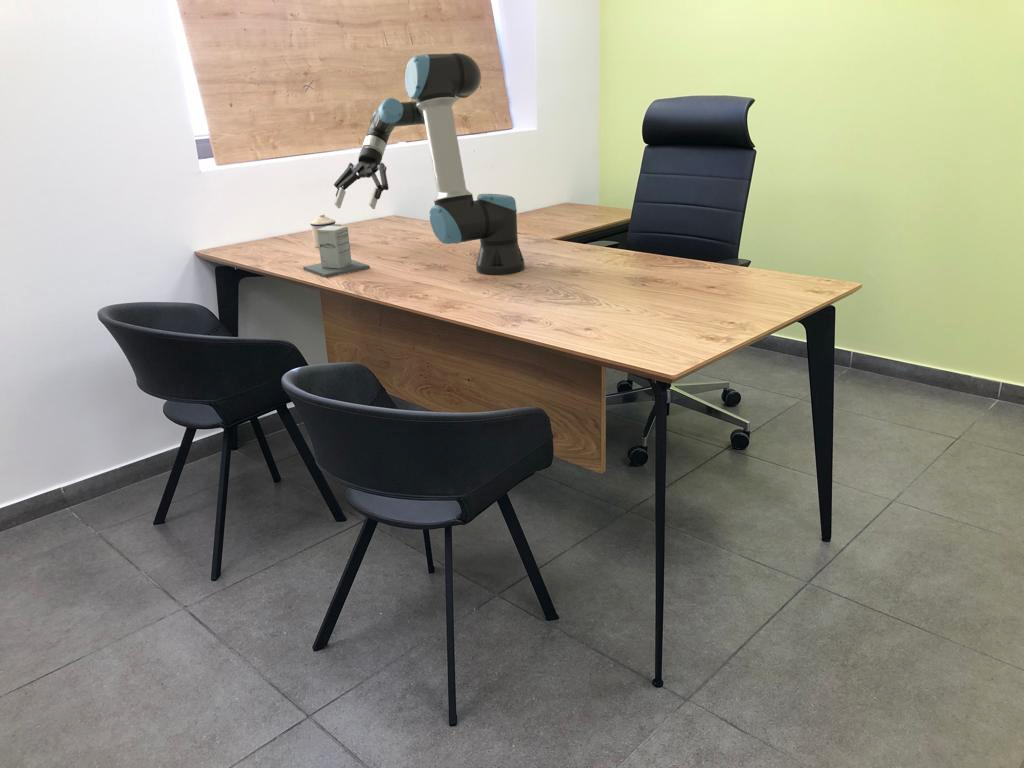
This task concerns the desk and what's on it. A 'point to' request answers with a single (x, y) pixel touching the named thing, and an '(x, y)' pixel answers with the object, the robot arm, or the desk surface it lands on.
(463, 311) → the desk surface
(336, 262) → the supplement box
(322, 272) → the slate mat
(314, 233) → the teacup with lid
